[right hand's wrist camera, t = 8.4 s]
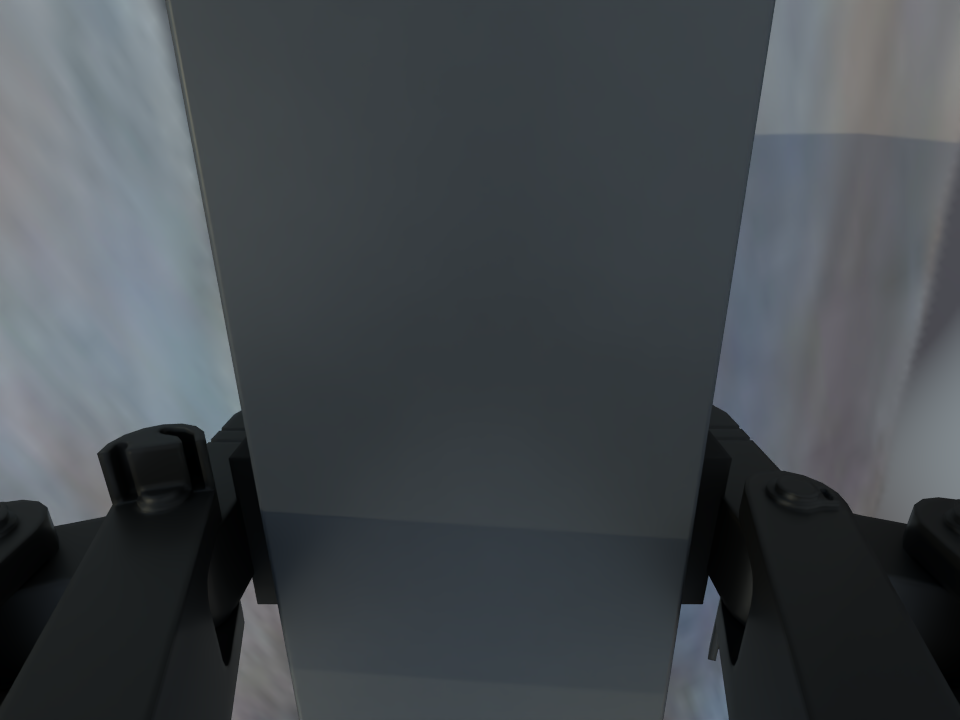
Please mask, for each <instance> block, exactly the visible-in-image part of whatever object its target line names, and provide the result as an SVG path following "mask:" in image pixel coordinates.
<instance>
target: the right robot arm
mask: <svg viewBox="0 0 960 720" xmlns="http://www.w3.org/2000/svg"><path fill="white" fill-rule="evenodd" d="M97 455H98V458H99V461H100V465H101V468H102V471H103V474H104V478H105V481H106V484H107V488H108V491H109V494H110V497H111V501H112V504H113V505H112V507H111V509H110V510H109V512H108V514H107V516H105V517H101V518H96V519H91V520H86V521H80V522H75V523H70V524H64V525H59V526H54V525H53V522H52V519H51V516H50V514H49V511H48V508H47V507H46V506H45V505H43V504H42V503H40V502H38V501H29V500H18V501H10V502H0V720H231V717H232V710H233V702H234V695H235V688H236V681H237V673H238V666H239V659H240V652H241V645H242V637H243V630H244V617H243V610H242V606H241V601H240V599H241V597H242V595H243V593H244V592H245V590H246V588H247V586H248V584H249V582H250V580H251V578H253V583H254V588H255V593H256V598H257V603H258V604H278V603H277V598H276V592H275V587H274V581H273V576H272V571H271V565H270V560H269V555H268V549H267V544H266V538H265V533H264V528H263V522H262V517H261V512H260V506H259V501H258V496H257V490H256V485H255V479H254V474H253V469H252V463H251V458H250V453H249V447H248V442H247V437H246V431H245V426H244V420H243V415H242V411H240V412H238V413H236V414H234V415H233V416H232V418H231V419H230V420H229V421H228V422H227V423H226V424H225V425H224V426H223V427H222V431H219V432H218V433H217V434H216V435H215V436H214V437H213V438H212V439H211V442H208V443H207V444H206V439H205V434H204V431H202V430H201V429H199V428H198V427H196V426H192V425H187V424H163V425H158V426H153V427H148V428H143V429H140V430H138V431H135V432H132V433H129V434H126V435H123V436H122V437H120V438H118V439H116V440H114V441H112V442H110V443H108V444H107V445H106V446H105V447H104V448H103V449H102V450H101V451H100V452H98V453H97ZM708 575H709V577H710V579H711V580H712V582H713V584H714V586H715V588H716V590H717V592H718V593H719V595H720V601H719V606H718V610H717V615H716V620H715V624H714V629H713V634H712V638H711V643H710V648H709V654H708V659H709V660H714V661H716V656H717V652H718V649H719V651H720V658H721V665H722V672H723V679H724V686H725V694H726V701H727V708H728V715H729V720H960V499H957V500H955V499H947V498H939V497H938V498H928V499H922V500H921V501H919V502H918V503H916V504H915V505H914V507H913V510H912V513H911V515H910V518H909V521H908V524H904V523H899V522H894V521H888V520H883V519H878V518H872V517H867V516H862V515H857V514H853V513H852V511H851V509H850V508H849V506H848V504H847V503H846V502H845V501H844V499H843V498H842V497H841V496H840V495H839V494H838V493H837V492H836V491H834V490H832V489H831V488H829V487H828V486H826V485H825V484H823V483H821V482H819V481H816V480H814V479H811V478H809V477H806V476H804V475H799V474H795V473H791V472H786V471H781V470H780V469H779V468H778V467H777V466H776V465H775V464H774V463H773V462H772V461H771V460H770V459H769V458H768V457H767V455H766V454H765V453H764V452H763V451H762V450H761V449H760V448H759V447H758V446H757V445H756V444H755V443H754V442H753V440H750V437H749V436H748V435H747V434H746V433H745V432H744V431H743V430H742V429H739V425H738V424H737V423H736V422H735V421H734V420H733V419H732V418H731V417H730V416H729V415H728V414H727V413H726V412H724V411H723V410H721V409H719V408H717V407H715V406H714V405H712V410H711V416H710V423H709V429H708V436H707V442H706V448H705V455H704V461H703V468H702V474H701V480H700V487H699V493H698V500H697V506H696V513H695V519H694V525H693V532H692V538H691V545H690V551H689V557H688V564H687V570H686V577H685V583H684V589H683V596H682V602H681V604H703V600H704V595H705V590H706V585H707V580H708Z"/></svg>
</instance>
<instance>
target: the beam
mask: <svg viewBox="0 0 960 720" xmlns="http://www.w3.org/2000/svg"><path fill="white" fill-rule="evenodd" d="M165 2H166V7H167V13H168V18H169V23H170V29H171V34H172V40H173V45H174V50H175V56H176V61H177V66H178V72H179V77H180V82H181V88H182V93H183V99H184V104H185V109H186V115H187V120H188V125H189V131H190V136H191V141H192V147H193V152H194V158H195V163H196V168H197V174H198V179H199V184H200V190H201V195H202V200H203V206H204V211H205V217H206V222H207V227H208V233H209V238H210V243H211V249H212V254H213V259H214V265H215V270H216V276H217V281H218V286H219V292H220V297H221V302H222V308H223V313H224V319H225V324H226V329H227V335H228V340H229V345H230V351H231V356H232V361H233V367H234V372H235V378H236V383H237V388H238V394H239V399H240V404H241V410H242V415H243V420H244V426H245V431H246V437H247V442H248V447H249V453H250V458H251V463H252V469H253V474H254V479H255V485H256V490H257V496H258V501H259V506H260V512H261V517H262V522H263V528H264V533H265V538H266V544H267V549H268V555H269V560H270V565H271V571H272V576H273V581H274V587H275V592H276V598H277V603H278V608H279V614H280V619H281V624H282V630H283V635H284V640H285V646H286V651H287V657H288V662H289V667H290V673H291V678H292V683H293V689H294V694H295V699H296V705H297V710H298V716H299V720H663V718H664V711H665V705H666V698H667V692H668V686H669V679H670V673H671V666H672V660H673V654H674V647H675V641H676V634H677V628H678V622H679V615H680V609H681V602H682V596H683V589H684V583H685V577H686V570H687V564H688V557H689V551H690V545H691V538H692V532H693V525H694V519H695V513H696V506H697V500H698V493H699V487H700V480H701V474H702V468H703V461H704V455H705V448H706V442H707V436H708V429H709V423H710V416H711V410H712V404H713V397H714V391H715V384H716V378H717V371H718V365H719V359H720V352H721V346H722V339H723V333H724V327H725V320H726V314H727V307H728V301H729V295H730V288H731V282H732V275H733V269H734V263H735V256H736V250H737V243H738V237H739V230H740V224H741V218H742V211H743V205H744V198H745V192H746V186H747V179H748V173H749V166H750V160H751V154H752V147H753V141H754V134H755V128H756V121H757V115H758V109H759V102H760V96H761V89H762V83H763V77H764V70H765V64H766V57H767V51H768V45H769V38H770V32H771V25H772V19H773V13H774V6H775V0H165Z"/></svg>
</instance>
